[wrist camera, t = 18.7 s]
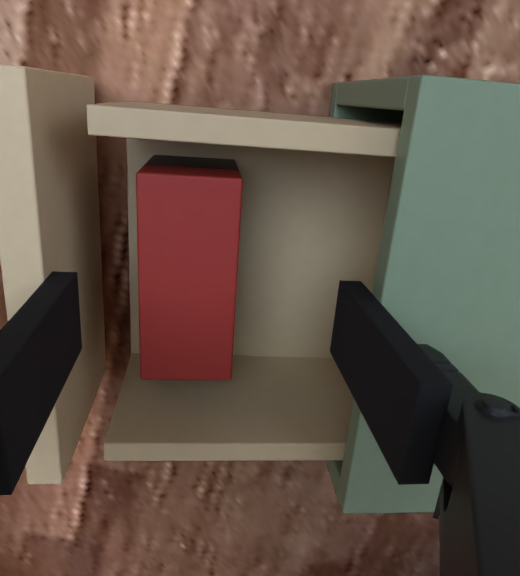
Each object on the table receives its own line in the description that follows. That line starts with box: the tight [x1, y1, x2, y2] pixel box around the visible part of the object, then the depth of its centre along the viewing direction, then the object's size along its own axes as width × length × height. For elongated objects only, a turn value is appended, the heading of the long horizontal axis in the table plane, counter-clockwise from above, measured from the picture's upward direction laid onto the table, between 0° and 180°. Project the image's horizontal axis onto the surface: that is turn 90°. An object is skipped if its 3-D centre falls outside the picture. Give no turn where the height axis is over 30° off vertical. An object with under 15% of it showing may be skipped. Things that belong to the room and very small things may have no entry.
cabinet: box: [325, 75, 520, 514], centre depth 20 cm, size 16×15×10 cm
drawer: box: [0, 64, 402, 484], centre depth 19 cm, size 21×14×8 cm, turn 86°
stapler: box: [136, 155, 243, 380], centre depth 19 cm, size 8×3×5 cm, turn 176°
